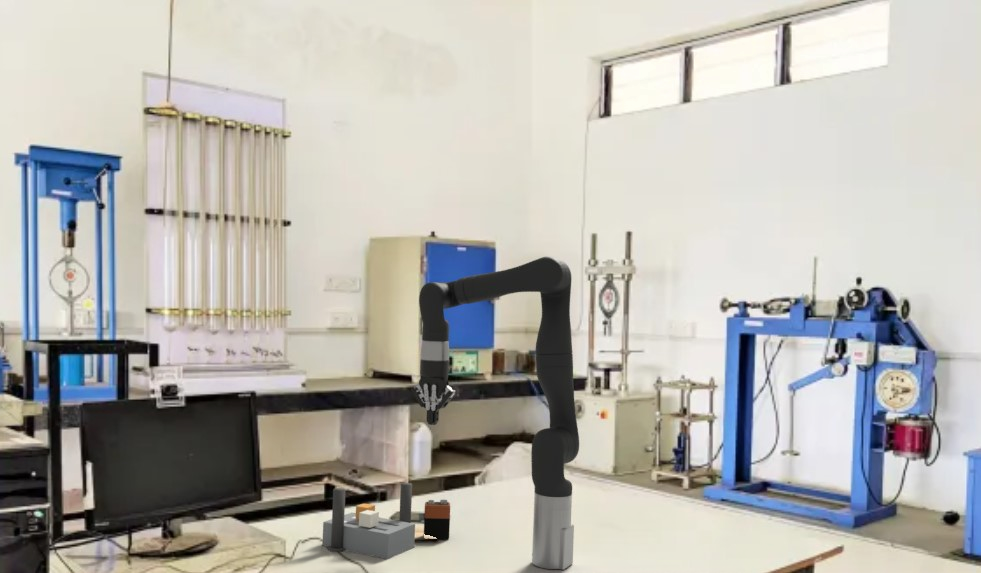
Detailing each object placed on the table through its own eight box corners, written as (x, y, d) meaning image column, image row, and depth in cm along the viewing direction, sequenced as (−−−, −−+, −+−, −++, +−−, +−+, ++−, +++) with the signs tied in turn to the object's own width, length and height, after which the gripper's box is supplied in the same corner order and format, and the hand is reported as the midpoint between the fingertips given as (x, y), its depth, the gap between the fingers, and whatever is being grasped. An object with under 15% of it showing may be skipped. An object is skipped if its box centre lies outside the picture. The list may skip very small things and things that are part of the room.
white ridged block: (378, 524, 211) (378, 512, 211) (370, 527, 208) (370, 514, 208) (366, 522, 212) (367, 509, 212) (358, 525, 209) (359, 512, 209)
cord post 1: (349, 548, 211) (351, 489, 211) (338, 553, 207) (341, 492, 207) (335, 545, 213) (337, 486, 213) (324, 550, 209) (326, 489, 209)
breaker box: (414, 547, 214) (415, 523, 214) (387, 559, 204) (388, 533, 204) (351, 535, 223) (352, 512, 224) (322, 545, 213) (323, 521, 213)
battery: (449, 540, 222) (450, 502, 222) (423, 539, 222) (424, 501, 222) (448, 535, 226) (450, 498, 227) (423, 535, 226) (425, 498, 226)
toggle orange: (374, 517, 217) (375, 505, 218) (366, 520, 214) (367, 507, 214) (363, 515, 219) (364, 503, 219) (355, 518, 216) (356, 506, 216)
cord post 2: (415, 540, 220) (418, 483, 220) (406, 544, 216) (409, 486, 217) (401, 538, 222) (404, 481, 223) (392, 542, 218) (394, 484, 219)
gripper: (463, 359, 220) (461, 425, 219) (420, 356, 226) (418, 420, 225) (449, 360, 213) (446, 428, 213) (405, 357, 219) (403, 423, 219)
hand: (432, 424), depth 219 cm, fingers closed
